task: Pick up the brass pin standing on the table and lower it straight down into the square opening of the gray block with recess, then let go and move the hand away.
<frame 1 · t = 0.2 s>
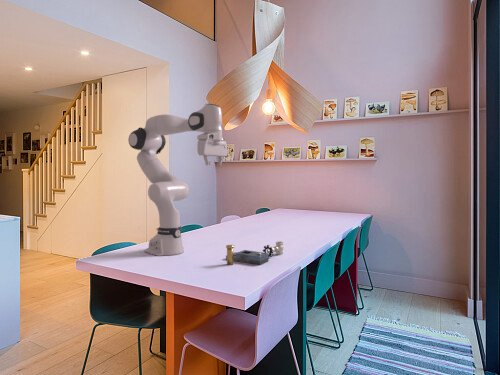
hand: (213, 165, 167), 47 cm above the table, tool pointing down, fingers open, 8 cm apart
valve: (274, 256, 178), on the table
gray block with recess: (246, 260, 168), on the table
brass pin: (230, 264, 161), on the table
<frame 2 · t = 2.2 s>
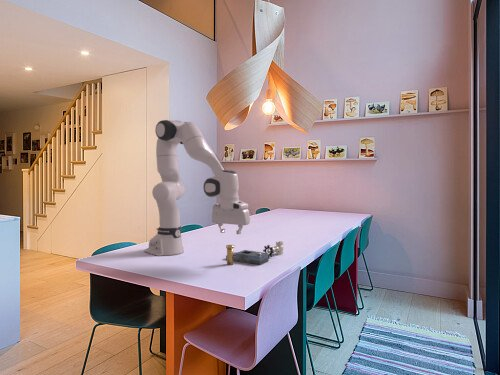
hand: (230, 233, 160), 15 cm above the table, tool pointing down, fingers open, 8 cm apart
nothing on the table moved.
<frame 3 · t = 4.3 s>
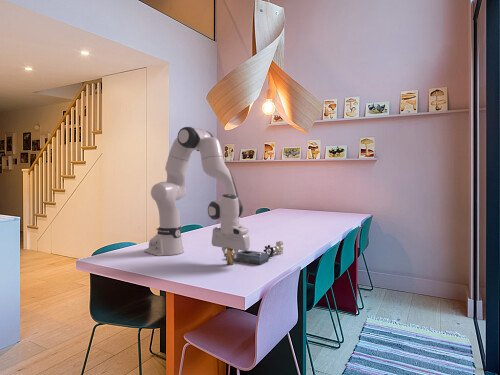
hand: (230, 257, 161), 3 cm above the table, tool pointing down, fingers closed on brass pin, 3 cm apart
brass pin: (230, 264, 161), on the table, touching gripper
everything else where it was.
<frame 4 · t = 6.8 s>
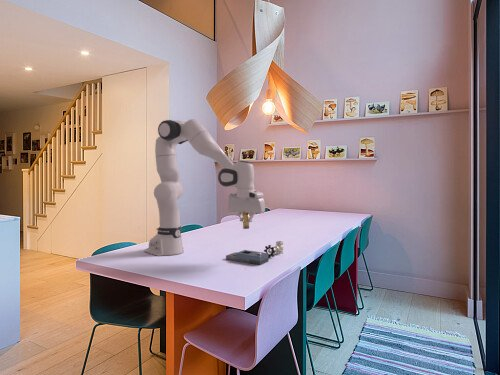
hand: (246, 221, 166), 19 cm above the table, tool pointing down, fingers closed on brass pin, 3 cm apart
brass pin: (246, 228, 167), point 16 cm above the table, touching gripper
everything else where it was.
when the fingers open (5 cm above the table, at t = 9.5 s): brass pin drops 2 cm, resting in gray block with recess.
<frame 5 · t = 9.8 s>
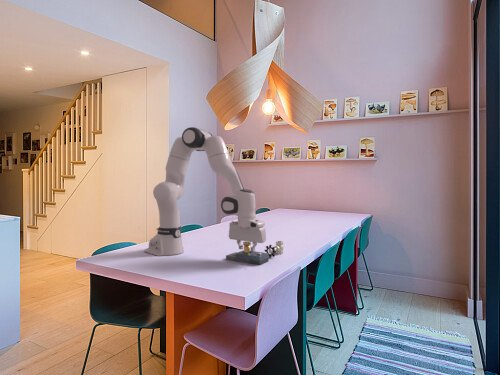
hand: (246, 249, 168), 5 cm above the table, tool pointing down, fingers open, 6 cm apart
brass pin: (246, 260, 168), resting in gray block with recess
everything else where it was.
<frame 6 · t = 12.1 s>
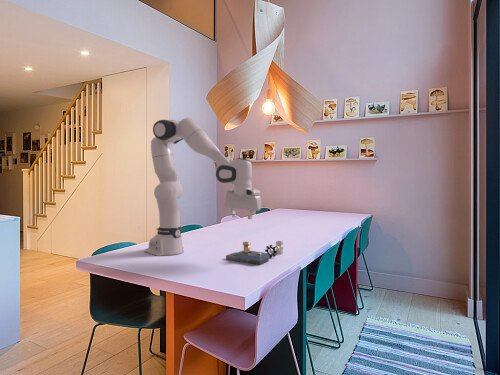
hand: (242, 218, 170), 21 cm above the table, tool pointing down, fingers open, 8 cm apart
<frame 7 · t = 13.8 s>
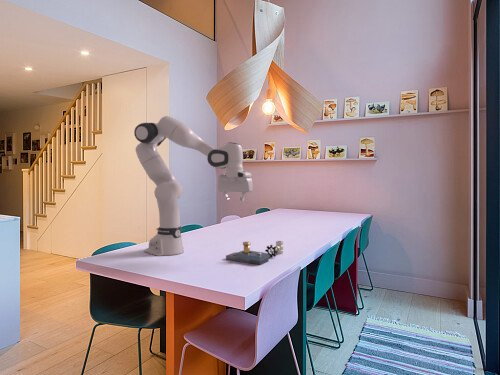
hand: (234, 200, 175), 29 cm above the table, tool pointing down, fingers open, 8 cm apart
at the end: brass pin 0.1 cm off-centre on the gray block with recess, point 0.0 cm above the gray block with recess's base; brass pin tilted 0°; the gripper is holding nothing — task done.
